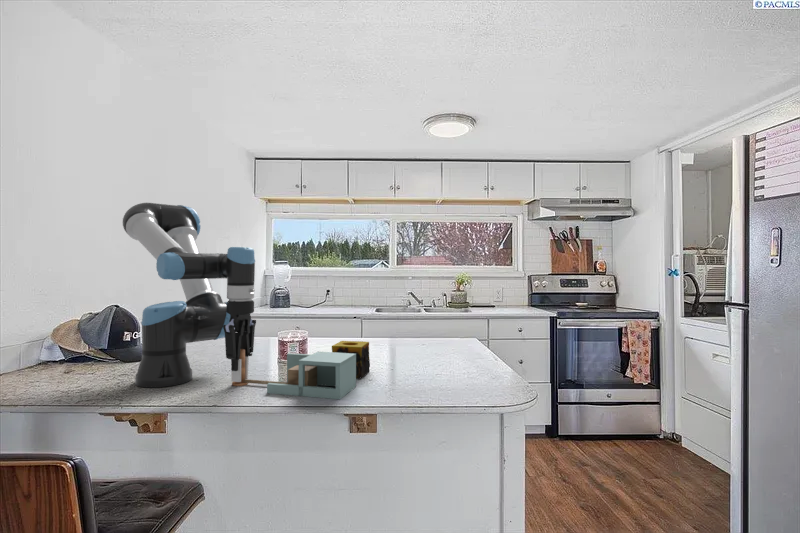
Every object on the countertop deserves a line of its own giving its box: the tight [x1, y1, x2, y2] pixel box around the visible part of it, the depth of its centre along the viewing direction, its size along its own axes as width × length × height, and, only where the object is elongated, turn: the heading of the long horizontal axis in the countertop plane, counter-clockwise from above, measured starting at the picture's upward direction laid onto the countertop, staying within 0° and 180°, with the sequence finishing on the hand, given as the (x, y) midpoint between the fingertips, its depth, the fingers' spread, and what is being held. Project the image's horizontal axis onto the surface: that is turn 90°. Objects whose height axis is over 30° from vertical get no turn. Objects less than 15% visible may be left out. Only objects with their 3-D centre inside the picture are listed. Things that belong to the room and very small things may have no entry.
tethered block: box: [231, 349, 318, 387], centre depth 129 cm, size 25×6×10 cm, turn 76°
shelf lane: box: [266, 351, 357, 400], centre depth 126 cm, size 21×12×10 cm, turn 76°
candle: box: [331, 340, 371, 380], centre depth 143 cm, size 10×10×10 cm
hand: (239, 379), depth 132 cm, fingers closed on tethered block, 3 cm apart
